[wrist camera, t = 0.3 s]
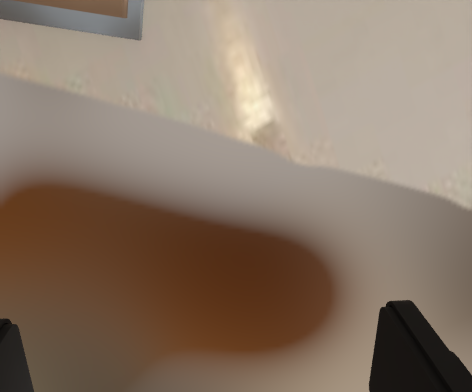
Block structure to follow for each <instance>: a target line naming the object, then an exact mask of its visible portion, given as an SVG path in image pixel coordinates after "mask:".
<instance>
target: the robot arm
mask: <svg viewBox="0 0 472 392" xmlns="http://www.w3.org/2000/svg"><path fill="white" fill-rule="evenodd" d="M369 391H370V392H472V375H471V374H470V372H469V371H468V370H467V368H466V367H465V366H464V364H463V363H462V362H461V361H460V359H459V358H458V357H457V356H456V355H455V354H454V353H453V352H451V351H449V349H448V348H447V347H446V345H445V344H444V343H443V341H442V340H441V339H440V337H439V336H438V335H437V333H436V332H435V331H434V330H433V328H432V327H431V325H430V324H429V323H428V322H427V320H426V319H425V318H424V316H423V315H422V314H421V312H420V311H419V310H418V308H417V307H416V306H415V304H414V303H413V302H412V301H410V300H403V301H389V302H387V304H386V307H382V308H381V309H380V312H379V319H378V326H377V333H376V340H375V347H374V354H373V360H372V367H371V375H370V381H369ZM0 392H34V390H33V386H32V382H31V377H30V373H29V369H28V365H27V361H26V357H25V352H24V348H23V344H22V340H21V336H20V332H19V328H18V326H17V325H16V324H12V323H11V321H10V320H9V319H0Z"/></svg>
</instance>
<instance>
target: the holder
mask: <svg viewBox="0 0 472 392" xmlns="http://www.w3.org/2000/svg"><path fill="white" fill-rule="evenodd" d="M143 7H144V0H0V19H4V20H11V21H17V22H24V23H30V24H37V25H43V26H49V27H56V28H62V29H69V30H75V31H82V32H88V33H95V34H101V35H108V36H114V37H121V38H127V39H134V40H141V38H142V23H143Z"/></svg>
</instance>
